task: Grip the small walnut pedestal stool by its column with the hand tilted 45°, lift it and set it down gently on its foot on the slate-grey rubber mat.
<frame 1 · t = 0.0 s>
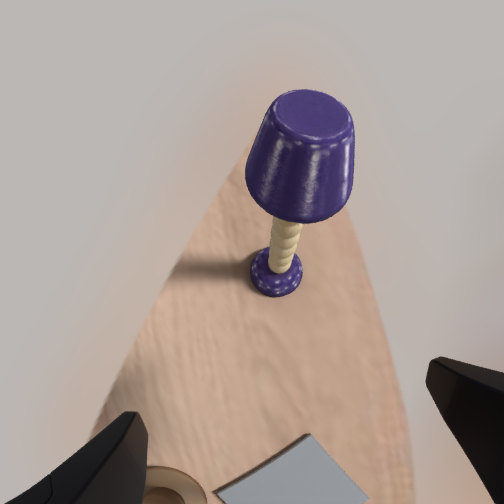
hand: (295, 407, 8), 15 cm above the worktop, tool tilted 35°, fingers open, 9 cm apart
grey mat: (296, 499, 18), on the worktop
toy lamp: (274, 268, 25), on the worktop
walnut stool: (168, 497, 17), on the worktop
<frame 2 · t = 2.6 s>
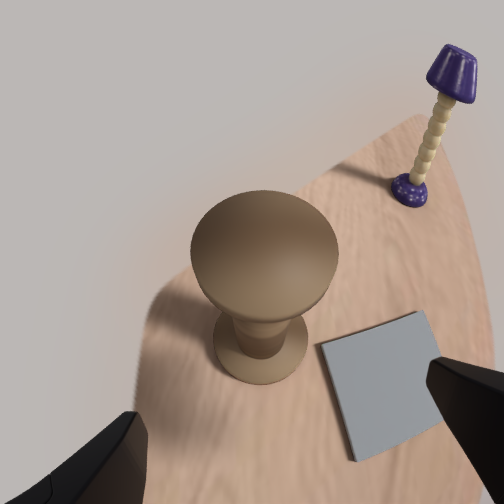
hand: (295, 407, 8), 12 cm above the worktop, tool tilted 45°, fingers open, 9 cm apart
grey mat: (394, 383, 18), on the worktop
toy lamp: (407, 191, 29), on the worktop
walnut stool: (260, 340, 21), on the worktop
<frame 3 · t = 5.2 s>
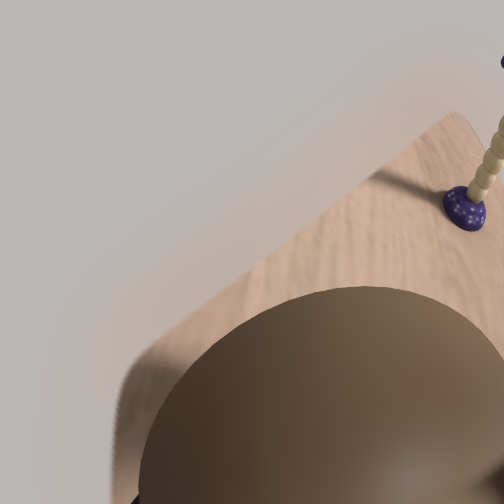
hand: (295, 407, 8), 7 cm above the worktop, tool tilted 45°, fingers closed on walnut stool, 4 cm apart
toy lamp: (461, 209, 20), on the worktop
walnut stool: (283, 440, 12), on the worktop, touching gripper
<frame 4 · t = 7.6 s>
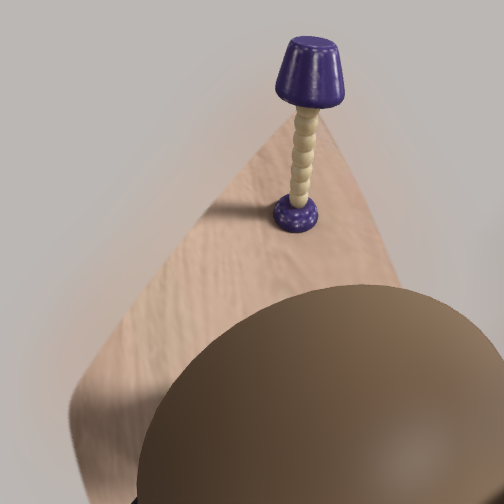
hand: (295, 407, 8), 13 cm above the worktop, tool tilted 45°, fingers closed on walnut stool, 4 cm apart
toy lamp: (294, 213, 29), on the worktop
walnut stool: (282, 440, 12), point 7 cm above the worktop, touching gripper
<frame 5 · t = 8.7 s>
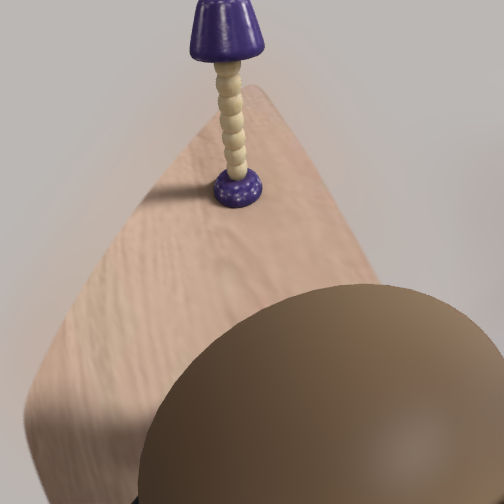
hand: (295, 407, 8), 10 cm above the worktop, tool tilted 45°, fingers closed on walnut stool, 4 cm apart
toy lamp: (236, 188, 26), on the worktop
walnut stool: (283, 440, 12), point 4 cm above the worktop, touching gripper
when the fingers open (8 cm above the worktop, at t = 9.9 s): walnut stool drops 1 cm, resting on grey mat.
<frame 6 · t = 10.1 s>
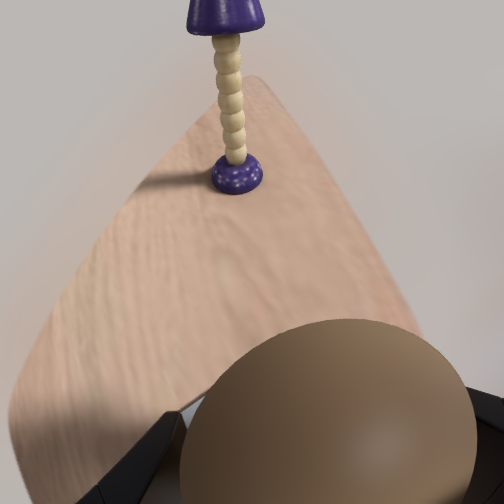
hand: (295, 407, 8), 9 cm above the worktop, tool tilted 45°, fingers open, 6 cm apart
toy lamp: (236, 175, 25), on the worktop
walnut stool: (281, 441, 13), point 1 cm above the worktop, touching grey mat
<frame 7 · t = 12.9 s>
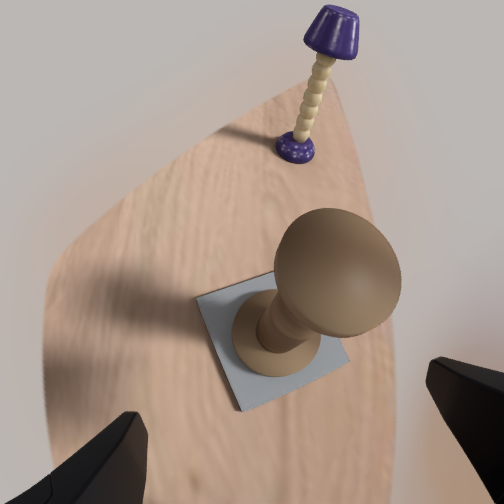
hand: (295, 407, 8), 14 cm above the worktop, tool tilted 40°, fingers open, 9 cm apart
grey mat: (274, 334, 22), on the worktop
toy lamp: (293, 149, 31), on the worktop
walnut stool: (275, 334, 21), point 1 cm above the worktop, touching grey mat
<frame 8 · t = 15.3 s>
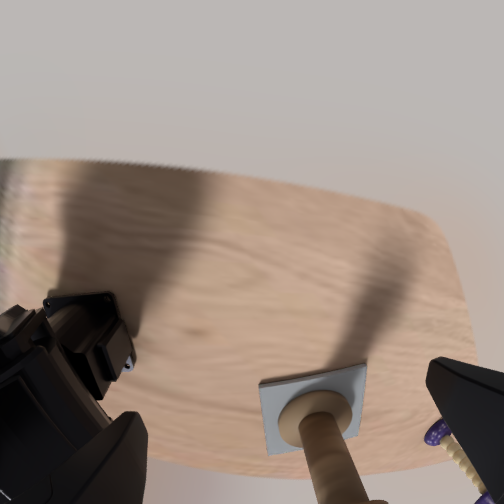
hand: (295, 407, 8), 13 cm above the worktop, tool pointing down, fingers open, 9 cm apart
grey mat: (313, 413, 23), on the worktop
toy lamp: (438, 428, 27), on the worktop
walnut stool: (314, 417, 23), point 1 cm above the worktop, touching grey mat
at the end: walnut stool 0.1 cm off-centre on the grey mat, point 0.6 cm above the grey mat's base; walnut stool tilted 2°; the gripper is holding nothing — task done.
